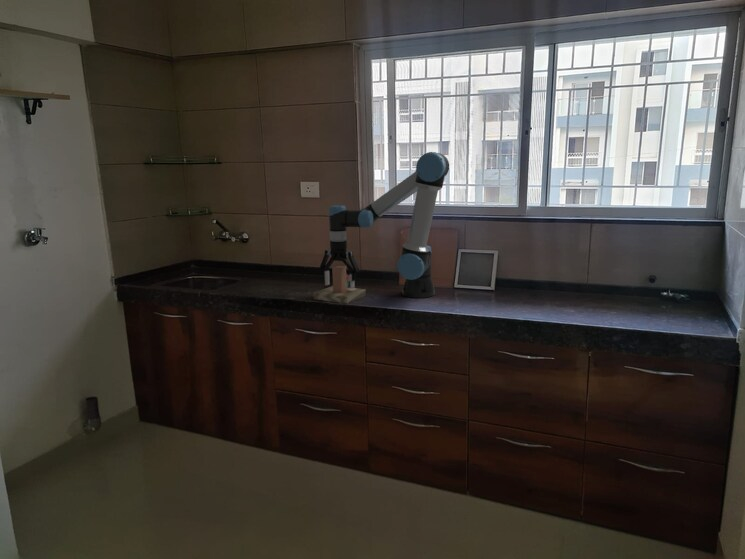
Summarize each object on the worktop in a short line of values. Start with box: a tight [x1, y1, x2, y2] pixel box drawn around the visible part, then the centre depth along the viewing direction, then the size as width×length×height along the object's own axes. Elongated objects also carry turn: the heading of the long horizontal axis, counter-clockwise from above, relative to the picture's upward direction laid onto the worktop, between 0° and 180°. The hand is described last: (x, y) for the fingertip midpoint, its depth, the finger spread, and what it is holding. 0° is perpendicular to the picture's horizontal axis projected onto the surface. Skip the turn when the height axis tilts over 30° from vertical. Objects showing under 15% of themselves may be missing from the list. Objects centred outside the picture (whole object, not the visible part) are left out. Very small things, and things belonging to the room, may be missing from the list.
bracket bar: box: [331, 265, 347, 294], centre depth 239 cm, size 4×4×14 cm
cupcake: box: [344, 264, 350, 288], centre depth 259 cm, size 9×8×12 cm
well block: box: [313, 285, 367, 304], centre depth 240 cm, size 18×16×3 cm
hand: (339, 286), depth 239 cm, fingers open, 13 cm apart
